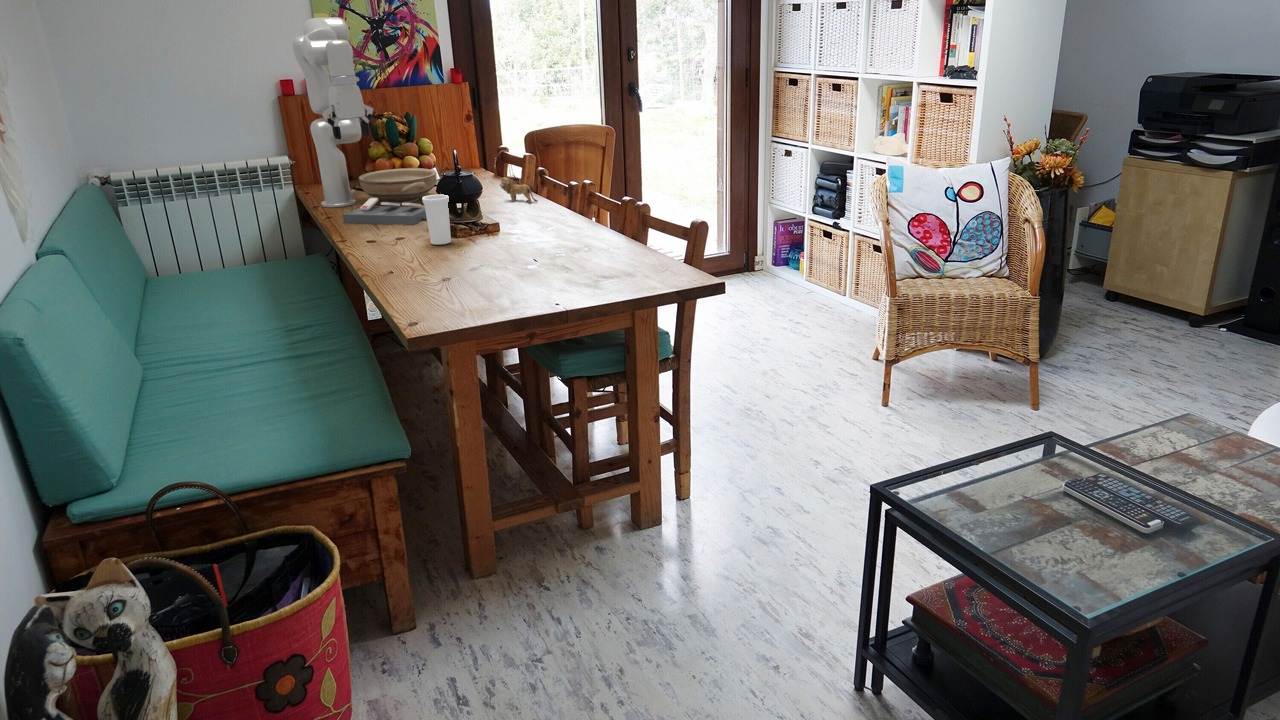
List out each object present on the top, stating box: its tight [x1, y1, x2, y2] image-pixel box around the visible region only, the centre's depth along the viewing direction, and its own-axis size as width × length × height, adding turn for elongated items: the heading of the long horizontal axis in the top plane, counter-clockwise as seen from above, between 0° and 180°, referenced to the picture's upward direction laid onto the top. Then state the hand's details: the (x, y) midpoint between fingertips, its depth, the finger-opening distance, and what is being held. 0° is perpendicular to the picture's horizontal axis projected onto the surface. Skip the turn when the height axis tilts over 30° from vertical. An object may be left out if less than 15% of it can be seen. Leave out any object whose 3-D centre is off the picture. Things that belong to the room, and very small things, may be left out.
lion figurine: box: [499, 176, 539, 205], centre depth 320 cm, size 15×5×9 cm, turn 70°
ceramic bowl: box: [358, 167, 437, 205], centre depth 329 cm, size 37×29×10 cm
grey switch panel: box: [342, 205, 427, 226], centre depth 299 cm, size 14×32×3 cm, turn 76°
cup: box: [421, 193, 452, 246], centre depth 263 cm, size 8×8×14 cm
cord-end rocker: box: [401, 202, 422, 207], centre depth 299 cm, size 8×3×1 cm, turn 166°
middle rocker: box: [380, 201, 401, 207], centre depth 301 cm, size 8×3×1 cm, turn 166°
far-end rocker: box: [359, 197, 379, 210], centre depth 302 cm, size 8×3×1 cm, turn 166°
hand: (352, 137), depth 281 cm, fingers open, 9 cm apart
